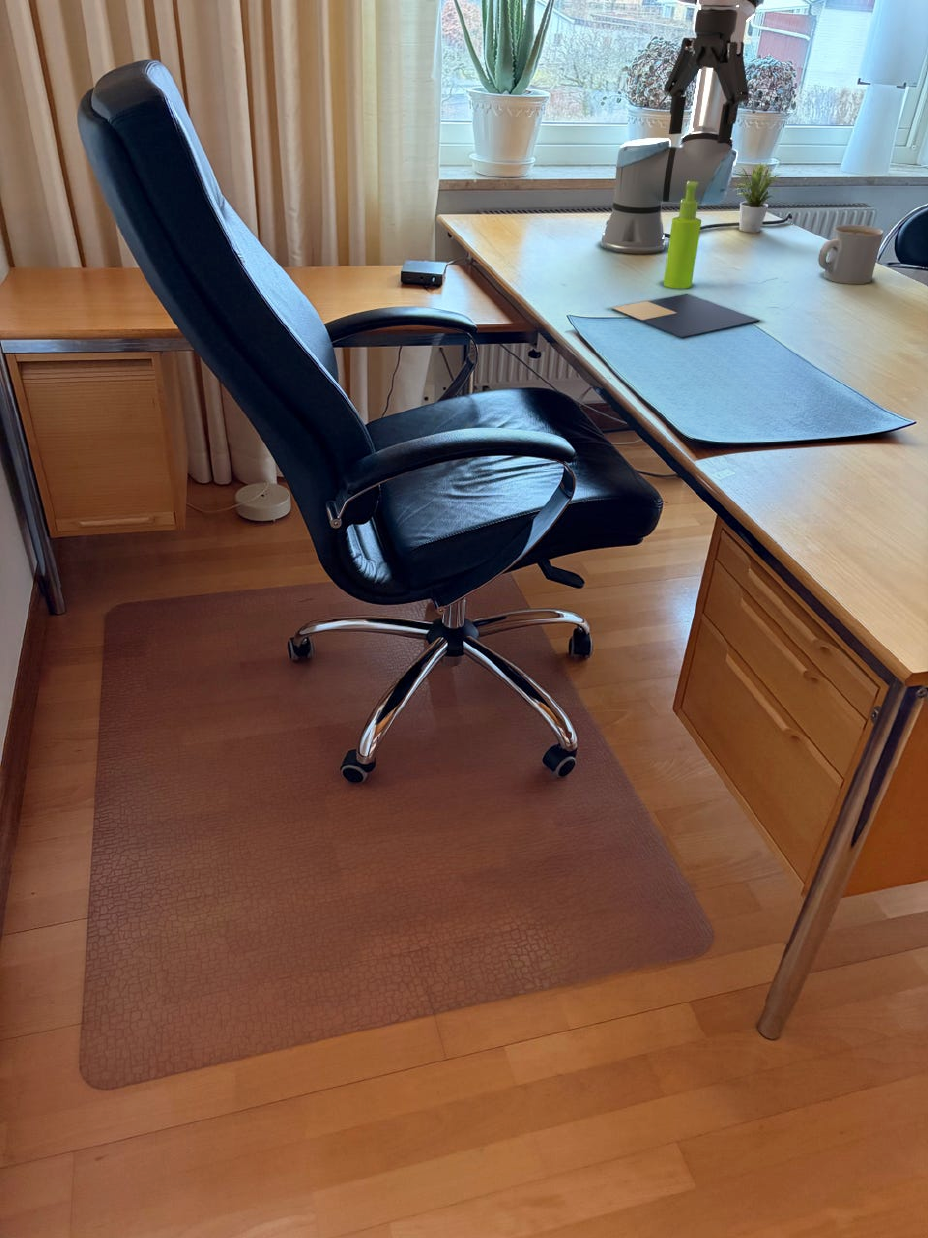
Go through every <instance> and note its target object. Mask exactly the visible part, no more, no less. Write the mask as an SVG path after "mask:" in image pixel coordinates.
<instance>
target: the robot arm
mask: <svg viewBox="0 0 928 1238" xmlns="http://www.w3.org/2000/svg"><path fill="white" fill-rule="evenodd" d="M673 1H674V2H677V3H680V4H683V5H689V6H698V7H699V9H697V10H696V12H695V17H694V24H693V33H694V34H695V37H684V38H682V41H681V45H680V50H679V53H678V55H677V58H676V59H675V62H674V64H673V67H672V69H671V70H670V71H671V72H670V74H669V76H668V78H667V80H666V83H665V85H664V91H665V92H666V93H667V92H668V93H669V94H670V96H671V99H670V107H669V114H670V120H669V128H668V135H680V134H682V129H683V124H684V115H685V107H686V101H687V100H686V99H687V96H686V91H687V89H688V88H689V86H690V85H691V84H692V82H693V81H694V79H695V78H696V76H697V82H696V88H695V94H694V101H693V106H692V113H691V120H690V126H689V130H688V132H687V133H685V134H684V135H683V136H682V137H681V139H680V145H679V146H672V143H671V140H670V139H669V138H665V137H663V138H662V137H654V138H653V137H652V138H643V139H636V140H632V141H628V142H625V143H624V144H622V145H621V146H620V147H619V149H618V152H617V160H616V164H615V179H614V188H613V189H614V190H613V196H612V197H613V198H612V209H611V213H610V215H609V218H608V219H607V221H606V224H605V229H604V230H605V231H604V232H603V234H602V235H601V236H602V237H601V241H600V246H601V247H602V248H604V249H606V250H608V251H611V252H616V253H621V254H631V255H642V254H643V255H646V254H654V253H655V254H656V253H659V252H662V251H663V250H664V249H665V247H666V238H667V239H670V233H664V223H663V218H662V210H663V203H672V204H673V203H675V204H681V201H682V200H684V199H686V192H687V188H686V185H687V183H688V181H694V182H699V184H698V185H697V187H696V189H695V196H694V199H695V200H696V201H697V202H698V204H697V205H698V206H699V205H700V206H702V207H703V206H718V205H720V204H722V203H723V202H724V200H725V199H726V196H727V193H728V190H729V187H730V184H731V181H732V177H733V175H734V174H733V173H734V171H735V170H734V169H735V166H736V164H737V158H738V153H739V152H738V150H736V149H735V148H733V144H734V141H733V139H732V135H733V134H732V133H733V127H734V124H736V122H737V116H738V112H739V111H738V110H739V106H740V104H741V103H743V102H748V101H749V98H750V92H749V87H748V79H747V74H746V73H747V71H746V67H745V59H744V50H745V49H744V48H745V43H744V39H745V34H746V33H745V32H746V29H747V28H746V27H747V23H748V22H749V21H750V20H751V19H752V18H754V16H755V14H756V11H757V8H760V7H763V5H764V1H765V0H673ZM791 219H793V215H792V213H791V212H788V213H786V215H785V217H784V218H783V219H777V220H766V221H765V220H763V223H762V226H769V225H780V224H785V223H786V222H787V221H788V220H791ZM726 227H740V221H738V222H725V223H724V222H722V223H713V224H706V225H701V226H700V231H703V230H707V229H708V230H709V229H715V228H726Z"/></svg>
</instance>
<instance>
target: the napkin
mask: <svg viewBox="0 0 928 1238" xmlns="http://www.w3.org/2000/svg"><path fill="white" fill-rule="evenodd" d="M611 310H612V311H614V312H617V313H618V314H622V315H623V316H626V317H628V318H631V319H634V320H636V321H637V322H641V323H643V324H645V325H647V326H651V327H653V328H655V329H657V330H661V331H663V332H665V333H668V334H669V335H673V336H675V337H677V338H679V339H685V338H691V337H695V336H699V335H704V334H708V333H713V332H717V331H718V332H719V331H722V330H726V329H731V328H735V327H740V326H746V325H751V324H754V323H755V324H756V323H758V322H760V319H757V318H755V317H753V316H749V315H746V314H744V313H741V312H738V311H736V310H733V309H730V308H727V307H725V306H723V305H722V306H721V305H718V304H716V303H713V302H710V301H708V300H705V299H703V298H699V297H697V296H694V295H692V294H688V293H685V294H679V295H674V296H669V297H664V298H658V299H653V300H645V301H640V302H633V303H629V304H624V305H619V306H613V307H611Z"/></svg>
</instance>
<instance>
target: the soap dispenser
mask: <svg viewBox="0 0 928 1238" xmlns="http://www.w3.org/2000/svg"><path fill="white" fill-rule="evenodd" d="M698 184H699V182H694V181H688V183H687V185H686V188H687V192H686V199H684V200H682V201H681V203H680V204H679V205H680V206H679V213H678V216H676V217H672V218H671V227H670V232H669V234H670V238H669V241H668V242H669V243H668V249H667V255H666V263H665V270H664V278H663V286H665V287H666V288H670V289H678V290H683V289H690V288H691V287H692V285H693V278H694V272H695V265H696V259H697V252H698V245H699V239H700V233H701V230H700V227H701V226H702V220H701V219H700V218H698V217H696V216H697V210H698V205H699V204H698V202H697V201H696V200H695V199H694V196H695V189H696V187H697V185H698Z"/></svg>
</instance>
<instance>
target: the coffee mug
mask: <svg viewBox="0 0 928 1238" xmlns="http://www.w3.org/2000/svg"><path fill="white" fill-rule="evenodd" d="M883 236H884V231H883V229H880V228H877V227H875V226H874V227H873V226H869V225H864V224H863V225H862V224H840V225H837V226H835V227H834V229H833V233H832V238H831V239H829V240H827V241H825V242H824V243H823V244H822V245H821V247H820V250H819V253H818V257H817V258H818V259H817V261H818V262H817V263H818V265H819V267H821V268H822V269H823V270H824V271H823V278H825V279H827V280H828V281H832V282H835V283H839V284H845V285H846V284H847V285H865V284H868V283H870V282H871V281H872V278H873V274H874V272H875V271H874V270H875V267H876V264H877V259H878V255H879V251H880V247H881V244H882V240H883Z"/></svg>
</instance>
